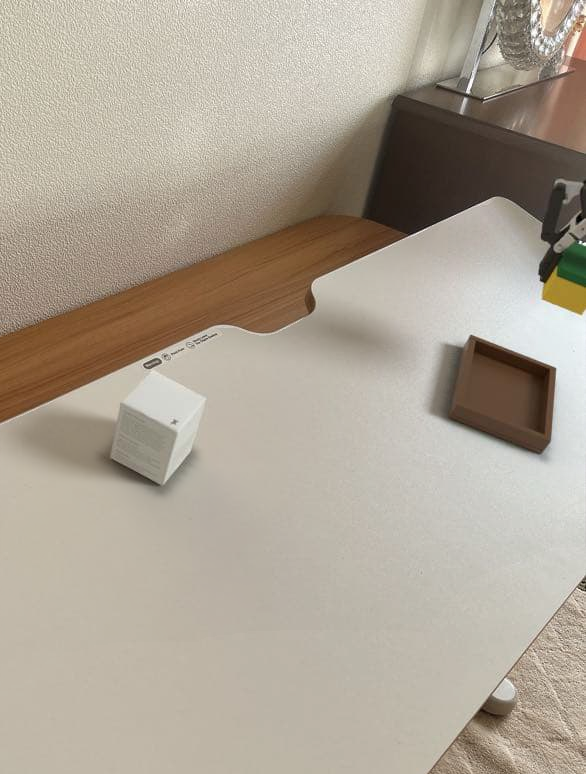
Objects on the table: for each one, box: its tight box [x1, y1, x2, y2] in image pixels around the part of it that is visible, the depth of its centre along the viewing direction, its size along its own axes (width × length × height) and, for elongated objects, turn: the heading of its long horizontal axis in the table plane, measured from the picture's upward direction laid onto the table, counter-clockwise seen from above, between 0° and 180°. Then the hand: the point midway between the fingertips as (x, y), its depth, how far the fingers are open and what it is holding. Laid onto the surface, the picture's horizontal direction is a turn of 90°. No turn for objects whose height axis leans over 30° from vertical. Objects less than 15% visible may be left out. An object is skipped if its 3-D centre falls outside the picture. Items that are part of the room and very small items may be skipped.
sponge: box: [541, 241, 586, 316], centre depth 96 cm, size 7×5×4 cm, turn 161°
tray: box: [448, 334, 557, 455], centre depth 104 cm, size 15×11×2 cm
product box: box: [109, 369, 207, 486], centre depth 83 cm, size 6×6×7 cm
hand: (565, 287), depth 97 cm, fingers closed on sponge, 4 cm apart
